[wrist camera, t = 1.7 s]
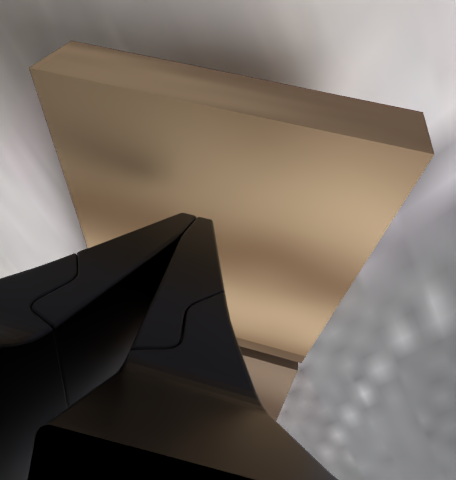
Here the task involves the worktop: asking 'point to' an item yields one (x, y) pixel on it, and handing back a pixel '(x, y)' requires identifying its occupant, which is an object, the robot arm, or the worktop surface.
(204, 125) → the tan rectangular slab
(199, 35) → the worktop surface
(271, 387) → the tan flat block
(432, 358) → the worktop surface
